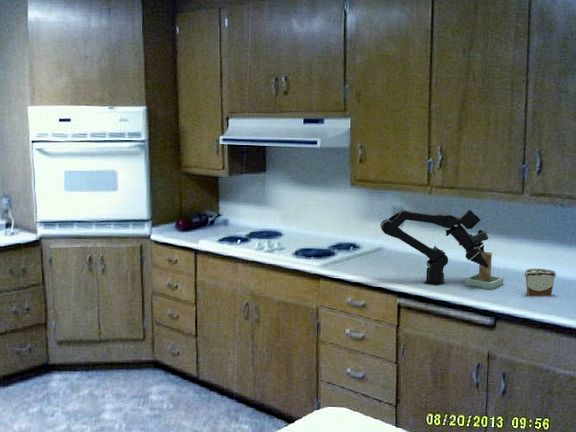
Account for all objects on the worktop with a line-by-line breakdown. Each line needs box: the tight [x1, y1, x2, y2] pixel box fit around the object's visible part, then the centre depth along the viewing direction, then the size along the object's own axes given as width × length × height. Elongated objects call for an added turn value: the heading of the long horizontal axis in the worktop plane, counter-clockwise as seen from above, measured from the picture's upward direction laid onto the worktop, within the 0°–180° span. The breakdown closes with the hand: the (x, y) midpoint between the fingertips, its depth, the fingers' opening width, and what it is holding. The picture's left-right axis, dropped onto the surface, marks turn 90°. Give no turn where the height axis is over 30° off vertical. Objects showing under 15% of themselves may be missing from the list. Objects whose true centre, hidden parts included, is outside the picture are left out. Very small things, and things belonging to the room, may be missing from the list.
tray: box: [464, 273, 504, 291], centre depth 273 cm, size 12×12×3 cm
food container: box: [523, 268, 557, 298], centre depth 258 cm, size 12×6×10 cm, turn 92°
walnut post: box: [478, 251, 493, 282], centre depth 272 cm, size 4×4×13 cm
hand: (488, 264), depth 272 cm, fingers open, 9 cm apart
